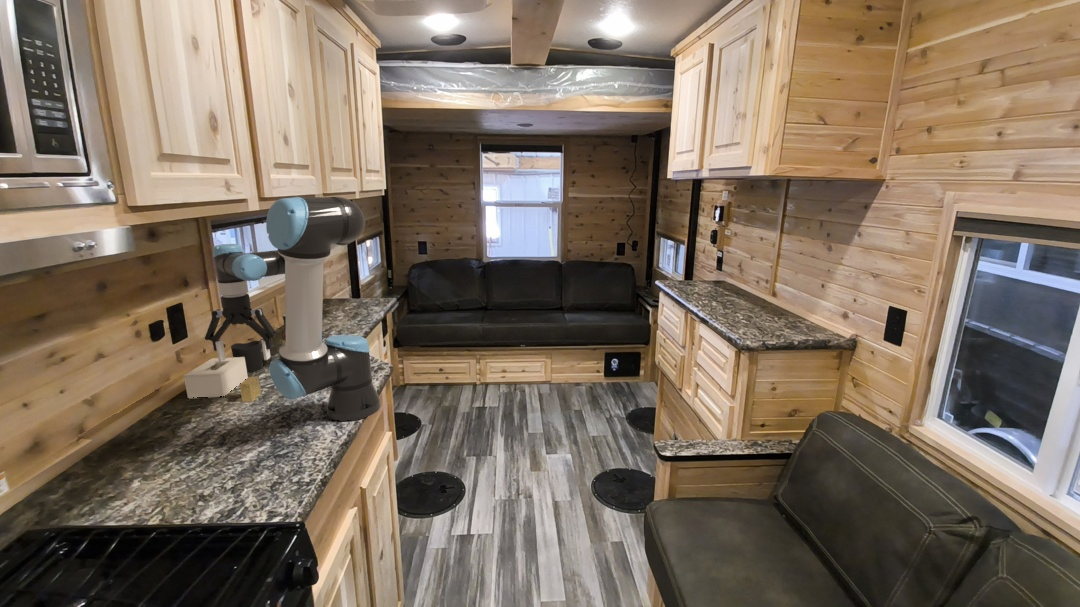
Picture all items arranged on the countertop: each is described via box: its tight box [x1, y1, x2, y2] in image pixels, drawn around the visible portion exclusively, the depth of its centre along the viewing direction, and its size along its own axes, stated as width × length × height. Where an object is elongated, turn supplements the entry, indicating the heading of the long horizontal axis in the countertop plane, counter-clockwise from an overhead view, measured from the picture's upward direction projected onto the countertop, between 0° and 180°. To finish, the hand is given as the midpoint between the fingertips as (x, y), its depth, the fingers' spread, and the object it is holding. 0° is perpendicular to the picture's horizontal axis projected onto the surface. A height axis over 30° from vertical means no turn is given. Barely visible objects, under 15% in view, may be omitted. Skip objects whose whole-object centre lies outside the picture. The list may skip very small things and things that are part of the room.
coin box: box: [183, 356, 249, 399], centre depth 161 cm, size 16×11×8 cm
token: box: [238, 376, 262, 403], centre depth 153 cm, size 6×3×6 cm, turn 6°
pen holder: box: [230, 340, 264, 374], centre depth 177 cm, size 9×9×10 cm
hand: (245, 359), depth 151 cm, fingers open, 13 cm apart
